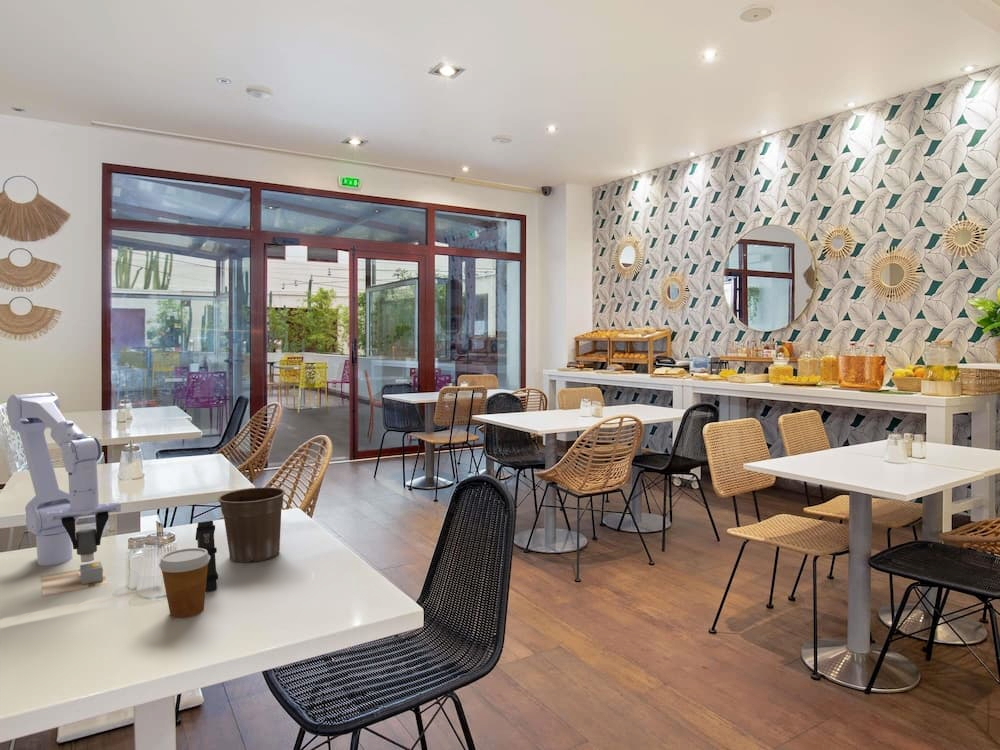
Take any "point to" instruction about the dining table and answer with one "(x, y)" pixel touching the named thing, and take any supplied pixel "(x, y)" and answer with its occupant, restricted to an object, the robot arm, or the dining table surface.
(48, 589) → the plank
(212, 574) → the black stepped upright piece
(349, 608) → the dining table surface
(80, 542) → the dark grey piece
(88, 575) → the block
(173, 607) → the disposable coffee cup
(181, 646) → the dining table surface
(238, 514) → the plant pot
